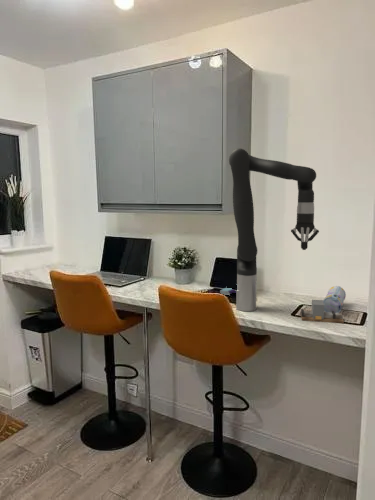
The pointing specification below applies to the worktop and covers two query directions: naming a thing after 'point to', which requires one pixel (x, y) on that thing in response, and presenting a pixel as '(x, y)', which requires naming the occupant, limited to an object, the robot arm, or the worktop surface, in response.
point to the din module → (318, 309)
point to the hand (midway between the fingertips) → (304, 249)
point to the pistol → (227, 291)
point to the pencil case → (334, 299)
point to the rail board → (328, 317)
